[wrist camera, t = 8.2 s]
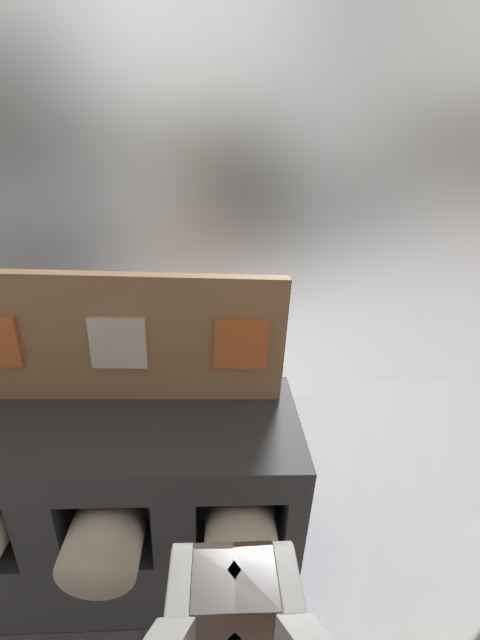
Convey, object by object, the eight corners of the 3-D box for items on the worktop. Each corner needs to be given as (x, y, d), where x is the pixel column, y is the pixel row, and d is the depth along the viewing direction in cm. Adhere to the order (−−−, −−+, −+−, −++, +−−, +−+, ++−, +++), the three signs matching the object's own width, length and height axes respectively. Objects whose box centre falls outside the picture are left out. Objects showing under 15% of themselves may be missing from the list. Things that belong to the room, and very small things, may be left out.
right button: (203, 597, 22) (203, 545, 20) (204, 538, 25) (205, 490, 23) (279, 594, 22) (285, 543, 20) (271, 537, 26) (276, 488, 24)
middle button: (59, 602, 21) (46, 549, 20) (80, 541, 25) (70, 492, 23) (139, 599, 22) (133, 547, 20) (149, 540, 25) (145, 491, 23)
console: (-67, 637, 25) (-224, 320, 16) (8, 508, 34) (-64, 258, 25) (292, 623, 27) (340, 328, 18) (272, 503, 36) (298, 266, 27)
